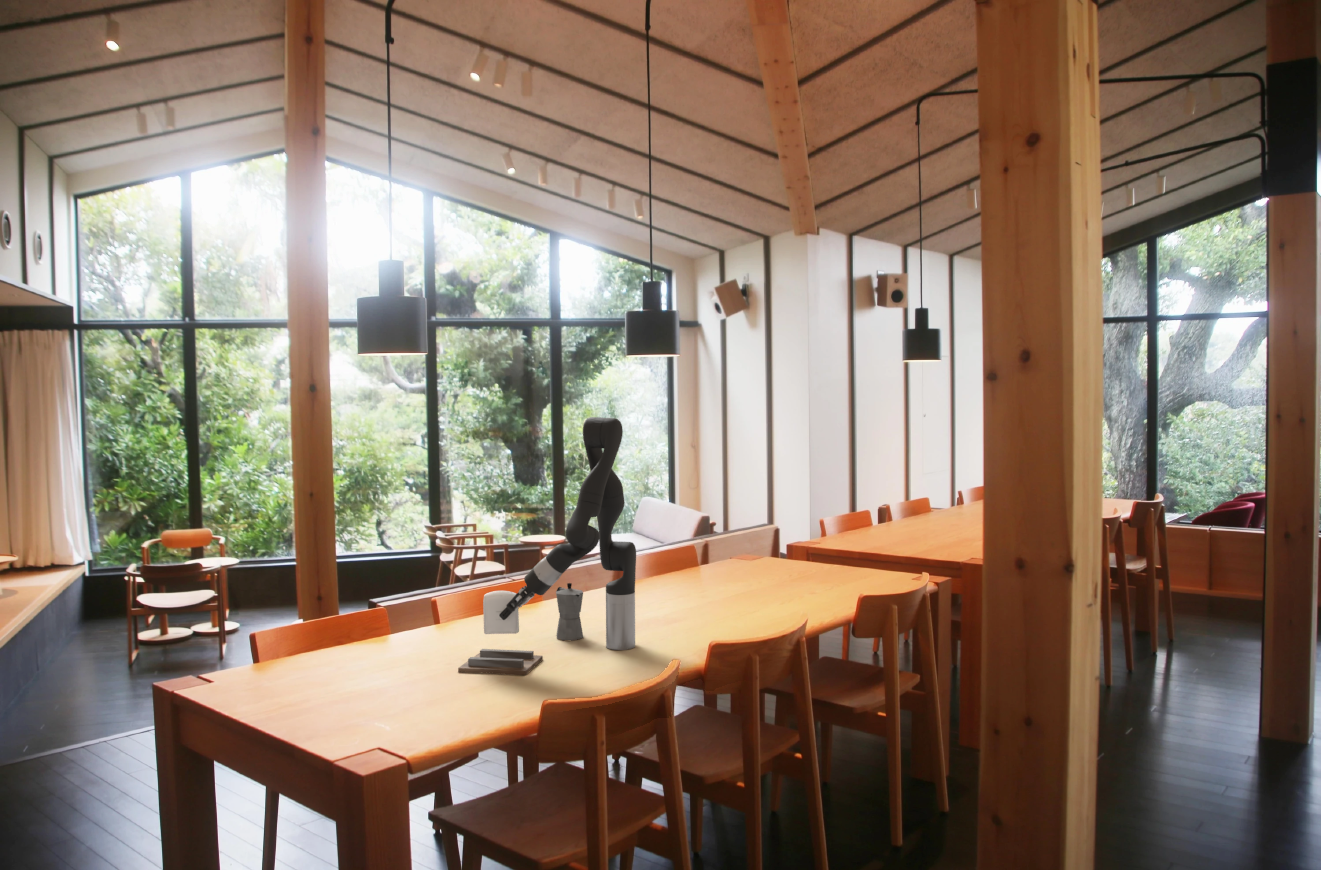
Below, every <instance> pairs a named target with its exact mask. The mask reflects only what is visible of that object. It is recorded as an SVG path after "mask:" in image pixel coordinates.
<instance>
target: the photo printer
mask: <svg viewBox="0 0 1321 870" xmlns="http://www.w3.org/2000/svg"><path fill="white" fill-rule="evenodd" d="M516 594H517V593H516V592H513V591H509V590H494V591H490V592H487V593H485V594H484V595H483V602H482V603H483V604H482V606H483V607H482V609H483V633H484V634H485V635H499V634H500V635H504V634H505V635H507V634H508V635H509V634H513V635H514V634H518V633H520V622H519V621H520V619H519V615H520V614H519V613H520V612H519V609H518V608H517V609H516V610H515V611H513V612H512V613H511V614H510V615H509V616H508V617H507V618H506V619H505V620H503V619H502V618H501V617H500V616H499V614H500V613H501V612H502V611H503V610H504V609H505V608H506V607H507V606H506V605H507V604H508V603H509V602H510V601H511V600H512V598H513V597H514V596H515V595H516ZM511 605H512V606H513V607H515V606H514V604H513V603H512V604H511Z"/></svg>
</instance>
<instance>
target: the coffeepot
mask: <svg viewBox="0 0 1321 870" xmlns="http://www.w3.org/2000/svg"><path fill="white" fill-rule="evenodd" d="M566 585H567V588H565V587H561V586H559V587H557V589H556V591H555V595H556V602H557V608H558V613H559V618H558V624H557V629H556V635H555V636H556V639H557V640H559V639H561V640H560V641H565V640H571V641H577V639H578V640H582V639H583V638H584V632H583V628H582V621H581V617H580V616H581V615H580V614H581V612H582V605H583V598H584V597H583V595H584V591H583V590H581V589H576V588H572V583H571V582H569V583H568V582H567V583H566Z"/></svg>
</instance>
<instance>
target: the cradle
mask: <svg viewBox="0 0 1321 870" xmlns="http://www.w3.org/2000/svg"><path fill="white" fill-rule="evenodd" d="M543 660H544V659H543V655H535V654H534V650H517V649H515V650H514V649H494V648H491V649H490V648H482V649H480V650H479V652H478V653H477V654H476V655H474V656H470V657H469V658H468V659H467V661H466V662H464V663H463V664H462V665H460V666H459V667H458V668H457V672H458V673H468V674H469V673H470V674H488V675H489V674H491V675H493V674H494V675H512V676H513V675H515V676H527V675H528V674H529V673H530V672H531V671H532V670H533V669H534V668H535V667H536V666H537V665H539V664H540V663H539V662H540V661H541V662H542V661H543Z"/></svg>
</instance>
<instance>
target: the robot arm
mask: <svg viewBox="0 0 1321 870" xmlns="http://www.w3.org/2000/svg"><path fill="white" fill-rule="evenodd" d="M582 426H583V427H582V439H583V444H584V449H585V452H586V456H587V461H588V465H589V471H590V472H589V473H588V474H587V475H586V476H585V478H584V480H582V481H583V482H582V484H581V485H580V489H579V493H578V497H577V501H576V507H575V509H574V510H573V513H572V515H571V516H570V519H569V521H568V523H567V525H566V529H565V537H566V540H567V542H568V543H560V544H557V545H556V546H554V547H553V548H551V550H550V552H548V554H546V556H544V557H543V558H542V559H541V560H540V561H538V562H537V564H536V565H534V567H533V568H532V569H531V570H530V571H529V572H528V573H526V575H525V576H524V584H525V585H524V586H522V587H521V588H520V589H519V590H518V592H517V593H516V595H515V596H514V597H513V598H512V600H511V601H510V602H509V603H508V604H507V605H506V606H507V607H506V608H505V609H504V610H503V611H502V612H501V613H500V614H499V616H500V617H501V618H502V619H503V620H505V619H506V618H507V617H508V616H509V615H510V614H511V613H512V612H513V611H515V610H516V609H517V608H518V610H519V609H520V608H522V607H523V606H524V605H527V604H528V603H529V601H530V600H531V599H533V598H534V597H535V595H537V596H543V595H545V594H546V593H547V591H549V590H550V589H551V588H552V586H553V585H554V584H556V583H557V581H558V580H559V579H560V578H561V576H562V575H563V574H564V573H565V572H566V571H567V570H568V569H569V568H570V567H571V566H572V564H574V563H575V562H577V561H579V560H580V559H582V558H584V557H585V556H586V555H588V554H589V553H591V552H592V551H593V550H594V549H595V548H596V547H597V545H598V544H599V558H600V563H601V566H602V568H603V569H604V570H605V571H608V572H609V571H612V572H613V571H614V572H622V576H621V577H619V578H617V579H615V580H612V581H609V582H607V583H605V584H606V585H605V642H606V643H605V647H606V648H607V649H609V650H615V651H623V650H632V649H634V648H635V647H636V567H637V549H636V545H635V544H634V543H633V542H631V541H617V540H615V541H614V540H613V538H612V534H613V532H612V531H613V529H614V528H615V527H614V526H615V525H616V523H617V521H618V519H619V518H620V517H621V515H622V513H623V510H624V508H625V504H626V503H625V496H624V487H623V484H622V481H621V480H620V478H619V476H618V475H617V473H616V472H615V471H614V470H613V466H614V463H615V461H616V458H617V454H618V452H619V450H620V446H621V443H622V439H623V432H624V429H623V425H622V422H621V420H620V419H618V418H614V417H599V416H591V417H588V418H586V419H585V420H584V422H583V425H582ZM592 518H596V519H597V520H596V521H597V527H598V529H597V528H596V527H594V526H592V525H589V523H590V521H591V519H592ZM512 603H513V604H514V606H515V607H513V606H512V605H511V604H512Z"/></svg>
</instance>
